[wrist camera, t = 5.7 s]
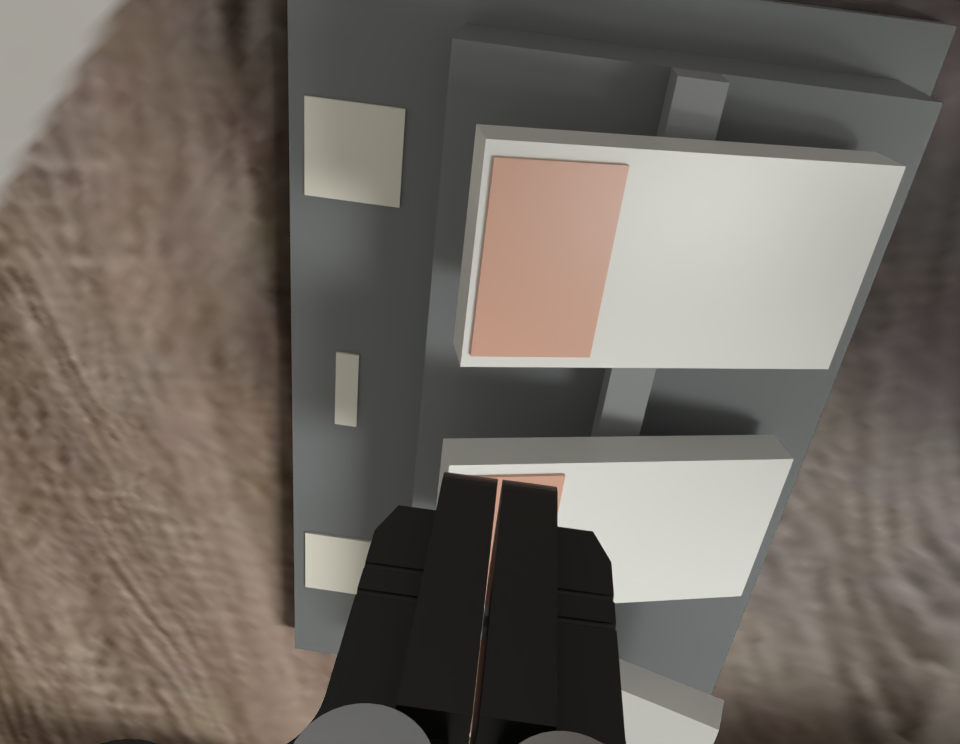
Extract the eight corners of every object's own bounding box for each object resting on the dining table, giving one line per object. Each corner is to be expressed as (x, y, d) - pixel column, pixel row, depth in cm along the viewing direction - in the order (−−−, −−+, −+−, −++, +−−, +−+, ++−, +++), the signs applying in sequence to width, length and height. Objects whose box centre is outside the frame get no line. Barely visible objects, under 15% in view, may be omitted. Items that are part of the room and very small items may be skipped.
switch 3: (724, 700, 26) (718, 733, 25) (684, 799, 29) (677, 832, 27) (443, 588, 29) (428, 613, 27) (431, 689, 31) (417, 715, 30)
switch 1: (876, 151, 20) (909, 167, 18) (805, 347, 22) (830, 371, 21) (476, 123, 18) (486, 139, 16) (453, 342, 20) (460, 368, 19)
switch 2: (773, 434, 24) (795, 461, 23) (724, 569, 27) (742, 598, 26) (443, 438, 22) (449, 467, 21) (427, 583, 25) (432, 616, 24)
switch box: (942, 21, 22) (1039, 49, 17) (693, 688, 36) (712, 799, 32) (297, -62, 22) (231, -55, 18) (301, 630, 36) (264, 731, 32)
